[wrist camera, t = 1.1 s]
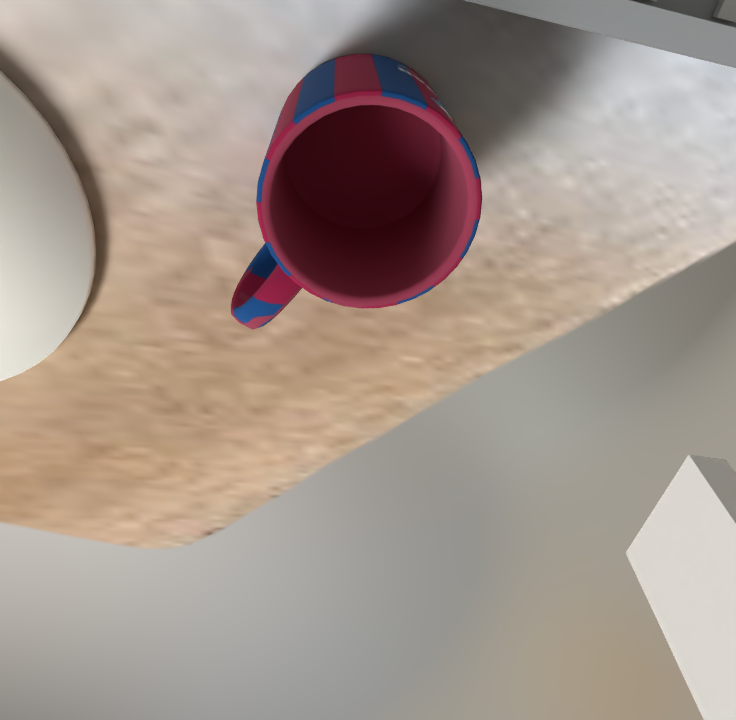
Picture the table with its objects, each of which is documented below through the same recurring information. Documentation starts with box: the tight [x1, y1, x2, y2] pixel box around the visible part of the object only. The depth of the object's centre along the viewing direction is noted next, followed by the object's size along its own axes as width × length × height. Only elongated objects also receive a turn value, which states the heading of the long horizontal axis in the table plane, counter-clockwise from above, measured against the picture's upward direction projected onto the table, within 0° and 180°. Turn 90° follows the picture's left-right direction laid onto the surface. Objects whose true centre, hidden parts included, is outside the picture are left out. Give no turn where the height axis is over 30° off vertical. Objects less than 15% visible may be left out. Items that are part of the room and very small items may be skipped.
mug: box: [231, 54, 482, 329], centre depth 22 cm, size 7×10×7 cm
